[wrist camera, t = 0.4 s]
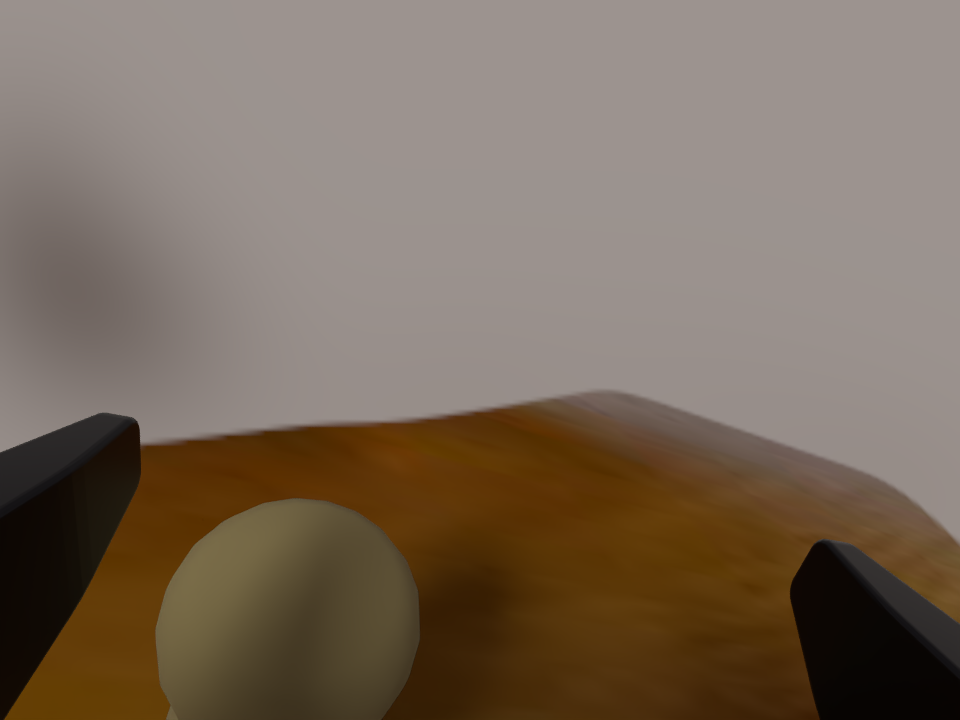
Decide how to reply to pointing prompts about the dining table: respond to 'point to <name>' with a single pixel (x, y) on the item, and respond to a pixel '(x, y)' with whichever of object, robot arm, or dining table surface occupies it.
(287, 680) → the cork
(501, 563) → the dining table surface
